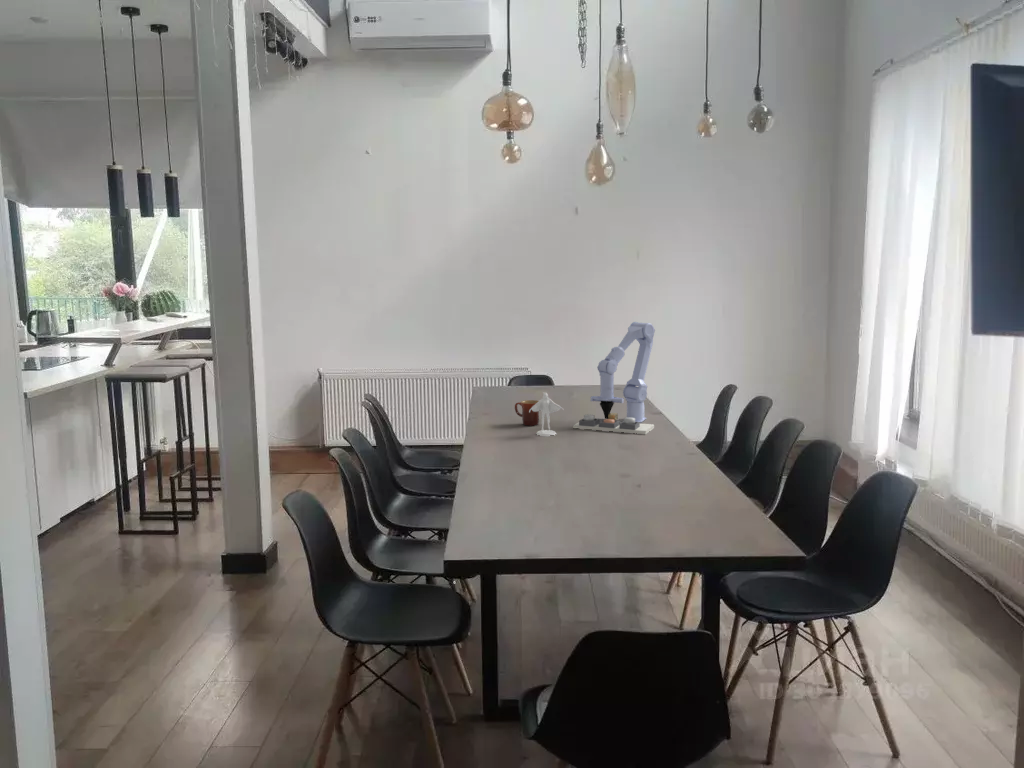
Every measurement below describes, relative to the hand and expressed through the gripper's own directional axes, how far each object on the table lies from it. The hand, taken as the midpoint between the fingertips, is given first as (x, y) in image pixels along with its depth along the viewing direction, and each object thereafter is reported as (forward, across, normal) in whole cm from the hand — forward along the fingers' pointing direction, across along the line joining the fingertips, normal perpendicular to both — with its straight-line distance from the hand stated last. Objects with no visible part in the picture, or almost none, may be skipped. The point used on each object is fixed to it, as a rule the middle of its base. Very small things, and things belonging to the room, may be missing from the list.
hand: (606, 418), depth 352 cm
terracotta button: (+2, +3, -7) cm, 8 cm away
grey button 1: (0, -6, -7) cm, 9 cm away
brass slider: (+2, +3, 0) cm, 3 cm away
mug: (+3, -34, -10) cm, 35 cm away
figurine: (+3, -19, -24) cm, 30 cm away
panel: (+3, +4, -4) cm, 7 cm away
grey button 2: (0, +12, -7) cm, 14 cm away
